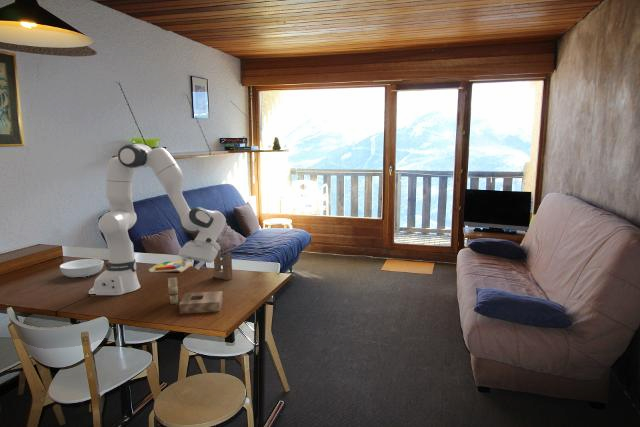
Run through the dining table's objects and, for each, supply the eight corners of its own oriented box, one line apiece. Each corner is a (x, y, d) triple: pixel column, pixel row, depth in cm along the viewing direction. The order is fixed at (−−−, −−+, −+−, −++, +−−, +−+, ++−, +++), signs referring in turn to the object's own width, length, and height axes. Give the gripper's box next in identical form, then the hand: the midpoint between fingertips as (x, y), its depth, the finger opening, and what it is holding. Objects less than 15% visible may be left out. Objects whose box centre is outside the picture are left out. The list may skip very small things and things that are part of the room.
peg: (168, 304, 190) (166, 280, 189) (170, 301, 194) (168, 277, 192) (177, 303, 191) (176, 279, 189) (179, 300, 195) (177, 277, 193)
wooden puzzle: (162, 264, 258) (162, 258, 258) (193, 265, 256) (193, 259, 256) (148, 273, 241) (147, 267, 241) (181, 273, 239) (180, 267, 239)
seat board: (179, 313, 179) (179, 304, 179) (185, 301, 193) (185, 293, 192) (219, 311, 181) (219, 302, 181) (222, 299, 195) (222, 291, 194)
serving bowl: (99, 279, 230) (98, 266, 229) (55, 283, 225) (53, 270, 224) (108, 268, 250) (107, 257, 249) (67, 272, 245) (66, 260, 244)
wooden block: (227, 280, 224) (226, 245, 221) (212, 277, 229) (211, 243, 227) (232, 278, 227) (231, 244, 224) (218, 275, 232) (216, 242, 230)
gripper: (185, 236, 208) (169, 261, 202) (215, 240, 197) (200, 266, 191) (193, 243, 213) (178, 268, 206) (223, 248, 202) (208, 274, 195)
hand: (189, 267), depth 198 cm, fingers open, 8 cm apart
